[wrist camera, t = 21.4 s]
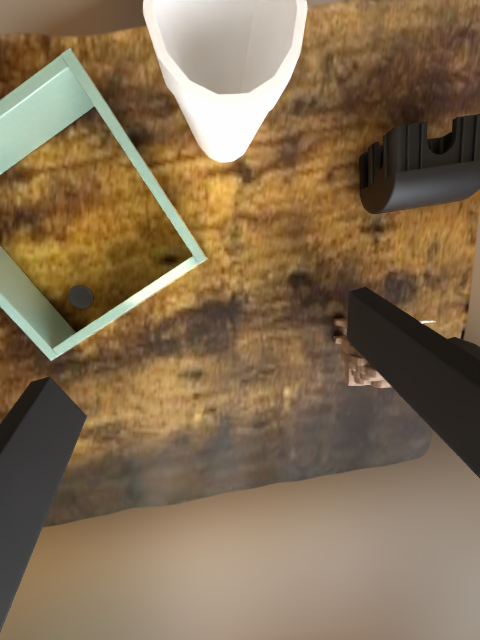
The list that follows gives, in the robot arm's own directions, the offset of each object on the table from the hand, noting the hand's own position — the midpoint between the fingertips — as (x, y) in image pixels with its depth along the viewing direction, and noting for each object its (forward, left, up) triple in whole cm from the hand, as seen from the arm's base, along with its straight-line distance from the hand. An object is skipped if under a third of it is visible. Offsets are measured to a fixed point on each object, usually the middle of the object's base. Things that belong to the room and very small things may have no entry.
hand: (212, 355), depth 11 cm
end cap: (+26, 0, -21) cm, 33 cm away
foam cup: (+11, +15, -21) cm, 27 cm away
